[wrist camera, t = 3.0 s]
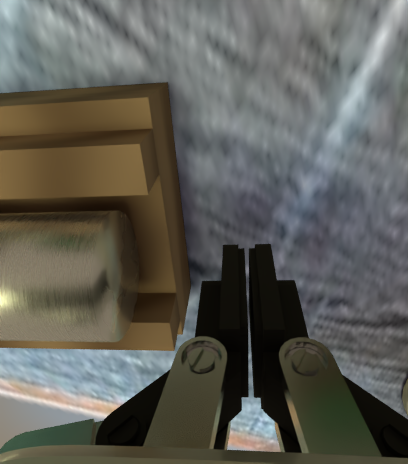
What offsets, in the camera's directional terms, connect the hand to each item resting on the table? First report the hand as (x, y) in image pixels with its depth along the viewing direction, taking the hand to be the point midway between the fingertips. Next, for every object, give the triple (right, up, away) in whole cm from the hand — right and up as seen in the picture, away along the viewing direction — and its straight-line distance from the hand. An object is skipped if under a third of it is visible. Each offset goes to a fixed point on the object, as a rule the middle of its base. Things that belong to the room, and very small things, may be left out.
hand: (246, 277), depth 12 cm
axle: (-12, +1, +4) cm, 12 cm away
